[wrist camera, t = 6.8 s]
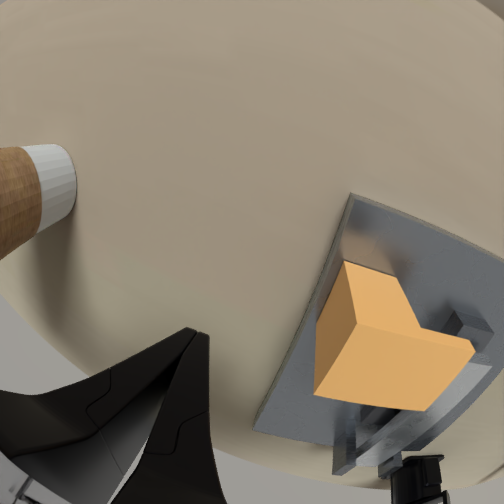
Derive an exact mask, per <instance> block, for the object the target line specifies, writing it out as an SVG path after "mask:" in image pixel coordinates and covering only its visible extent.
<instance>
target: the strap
mask: <svg viewBox="0 0 504 504" xmlns="http://www.w3.org/2000/svg"><path fill="white" fill-rule="evenodd" d="M491 368H492V364H491V362H490V360H489V358H488V356H487V355H485V354H480V353H474V355H473V356H472V357H471V359H470V360H469V361H468V362H467V364H466V365H465V366H464V368H463V369H462V370H461V371H460V373H459V374H458V375H457V376H456V377H455V379H454V380H453V381H452V382H451V383H450V384H449V386H448V387H447V388H446V389H445V390H444V391H443V392H442V393H441V395H440V396H439V397H438V398H437V399H436V400H435V401H434V402H433V403H432V404H431V405H430V406H429V407H428V408H427V409H426V410H425V411H416V410H405V409H403V410H402V411H401V412H399V413H398V414H397V415H396V416H395V417H394V418H393V419H392V420H391V421H390V422H388V423H387V424H386V425H385V426H384V427H383V428H382V429H380V430H379V431H378V432H377V433H376V434H374V435H373V436H372V437H371V438H370V439H368V440H367V441H366V442H365V443H363V444H362V445H361V446H359V447H358V448H357V449H356V466H370V467H376V466H378V465H379V464H381V463H383V462H384V461H386V460H387V459H389V458H390V457H392V456H393V455H395V454H396V453H398V452H399V451H401V450H402V449H403V448H405V447H406V446H407V445H409V444H410V443H412V442H413V441H414V440H416V439H417V438H418V437H419V436H421V435H422V434H423V433H425V432H426V431H427V430H428V429H429V428H431V427H432V426H433V425H434V424H435V423H437V422H438V421H439V420H440V419H441V418H442V417H444V416H445V415H446V414H447V413H448V412H449V411H450V410H451V409H452V408H453V407H455V406H456V405H457V404H458V403H459V402H460V401H461V400H462V399H463V398H464V397H465V396H466V395H467V394H468V393H469V392H470V391H471V390H472V389H473V388H474V387H475V385H476V384H477V383H478V382H479V381H480V380H481V379H482V378H483V377H484V376H485V374H486V373H487V372H488V371H489V370H490V369H491Z"/></svg>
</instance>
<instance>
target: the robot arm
mask: <svg viewBox="0 0 504 504" xmlns="http://www.w3.org/2000/svg"><path fill="white" fill-rule="evenodd" d="M209 342H210V336H209V335H208V334H205V333H202V332H197V331H196V330H194V329H191V328H189V327H186V328H184V329H182V330H180V331H178V332H176V333H175V334H173V335H171V336H169V337H167V338H165V339H163V340H162V341H160V342H158V343H156V344H154V345H152V346H150V347H149V348H147V349H145V350H143V351H141V352H139V353H137V354H135V355H133V356H131V357H129V358H128V359H126V360H124V361H122V362H120V363H118V364H116V365H114V366H112V367H111V368H108V369H106V370H104V371H102V372H100V373H98V374H96V375H94V376H91V377H89V378H87V379H85V380H82V381H79V382H76V383H74V384H71V385H68V386H65V387H62V388H59V389H56V390H53V391H50V392H47V393H43V394H38V395H24V394H18V393H13V392H8V391H3V390H0V504H107V502H108V501H109V499H110V498H111V496H112V495H113V493H114V492H115V490H116V488H117V487H118V485H119V484H120V482H121V480H122V479H123V477H124V475H125V474H126V472H127V471H128V469H129V467H130V466H131V464H132V463H133V461H134V459H135V458H136V456H137V455H138V453H139V451H140V450H141V448H142V447H143V445H144V443H145V442H146V440H147V438H148V437H149V438H148V441H147V443H146V446H145V448H144V451H143V454H142V456H141V459H140V461H139V463H138V465H137V467H136V469H135V470H134V471H133V473H132V474H131V476H130V477H129V479H128V480H127V481H126V483H125V484H124V486H123V487H122V488H121V490H120V491H119V492H118V494H117V495H116V497H115V498H114V499H113V501H112V502H111V504H227V502H226V500H225V497H224V495H223V492H222V488H221V485H220V481H219V477H218V472H217V468H216V464H215V459H214V454H213V449H212V443H211V436H210V418H209ZM443 459H444V455H435V456H416V457H409V458H407V459H405V460H404V461H403V462H402V465H403V466H402V467H401V468H400V469H398V470H397V471H395V472H393V473H392V474H390V475H389V476H387V477H381V479H391V504H438V503H440V502H443V504H450V497H449V494H448V492H447V490H445V491H443V492H442V493H441V486H440V484H441V483H442V479H441V473H440V466H439V462H440V461H441V460H443Z"/></svg>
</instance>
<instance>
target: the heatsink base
mask: <svg viewBox="0 0 504 504" xmlns="http://www.w3.org/2000/svg"><path fill="white" fill-rule="evenodd" d="M344 261H346V262H350V263H353V264H356V265H359V266H362V267H365V268H368V269H371V270H374V271H378V272H381V273H384V274H387V275H390V276H393V277H396V278H397V280H398V282H399V284H400V286H401V288H402V290H403V292H404V294H405V296H406V298H407V300H408V302H409V304H410V306H411V308H412V310H413V312H414V314H415V316H416V319H417V321H418V323H419V325H420V327H421V328H424V329H428V330H432V331H435V332H439V333H443V334H447V335H451V336H455V337H459V338H463V339H467V340H469V341H470V342H471V344H472V346H473V348H474V349H475V351H476V352H475V353H480V354H485V355H487V356H488V358H489V360H490V362H491V364H492V368H491V369H490V370H489V371H488V372H487V373H486V374H485V376H484V377H483V378H482V379H481V380H480V381H479V382H478V383H477V384H476V385H475V387H474V388H473V389H472V390H471V391H470V392H469V393H468V394H467V395H466V396H465V397H464V398H463V399H462V400H461V401H460V402H459V403H458V404H457V405H456V406H455V407H453V408H452V409H451V410H450V411H449V412H448V413H447V414H446V415H445V416H444V417H442V418H441V419H440V420H439V421H438V422H437V423H435V424H434V425H433V426H432V427H431V428H429V429H428V430H427V431H426V432H425V433H423V434H422V435H421V436H419V437H418V438H417V439H416V440H414V441H413V442H412V443H410V444H409V445H407V446H406V447H405V448H403V449H402V450H401V451H420V450H421V449H423V448H424V447H425V446H426V445H428V444H429V443H430V442H431V441H433V440H434V439H435V438H436V437H437V436H438V435H440V434H441V433H442V432H443V431H444V430H445V429H447V428H448V427H449V426H450V425H451V424H452V423H453V422H454V421H455V420H456V419H457V418H458V417H459V416H461V415H462V414H463V413H464V412H465V411H466V410H467V409H468V408H469V407H470V406H471V405H472V403H473V402H474V401H475V400H476V399H477V398H478V397H479V396H480V395H481V394H482V393H483V392H484V391H485V389H486V388H487V387H488V386H489V385H490V384H491V382H492V381H493V380H494V379H495V378H496V377H497V375H498V374H499V373H500V372H501V370H502V369H503V368H504V259H502V258H500V257H498V256H496V255H494V254H493V253H491V252H489V251H487V250H485V249H483V248H481V247H479V246H477V245H475V244H473V243H471V242H469V241H467V240H465V239H463V238H461V237H458V236H456V235H454V234H452V233H450V232H448V231H446V230H443V229H441V228H439V227H437V226H434V225H432V224H430V223H428V222H425V221H423V220H421V219H418V218H416V217H413V216H411V215H409V214H406V213H404V212H401V211H399V210H396V209H394V208H391V207H388V206H386V205H383V204H381V203H378V202H375V201H373V200H370V199H367V198H364V197H362V196H359V195H356V194H353V193H350V196H349V199H348V202H347V205H346V208H345V211H344V214H343V217H342V220H341V223H340V226H339V228H338V231H337V234H336V237H335V239H334V242H333V245H332V248H331V250H330V253H329V255H328V258H327V261H326V263H325V266H324V268H323V271H322V274H321V276H320V279H319V281H318V284H317V286H316V288H315V291H314V293H313V296H312V298H311V301H310V303H309V305H308V308H307V310H306V312H305V315H304V317H303V319H302V322H301V324H300V326H299V328H298V331H297V333H296V335H295V337H294V340H293V342H292V344H291V346H290V348H289V351H288V353H287V355H286V357H285V359H284V361H283V363H282V365H281V367H280V370H279V372H278V374H277V376H276V378H275V380H274V382H273V384H272V386H271V388H270V390H269V392H268V394H267V396H266V398H265V400H264V402H263V404H262V406H261V407H260V409H259V411H258V413H257V415H256V417H255V421H254V425H253V429H252V430H255V431H258V432H262V433H266V434H271V435H275V436H279V437H284V438H289V439H293V440H299V441H304V442H310V443H316V444H322V445H329V446H333V467H332V475H340V476H342V475H343V474H345V473H346V472H348V471H349V470H351V469H352V468H354V467H355V466H356V449H357V448H358V447H359V446H361V445H362V444H363V443H365V442H366V441H367V440H368V439H370V438H371V437H372V436H373V435H374V434H376V433H377V432H378V431H379V430H380V429H382V428H383V427H384V426H385V425H386V424H387V423H388V422H390V421H391V420H392V419H393V418H394V417H395V416H396V415H397V414H398V413H399V412H401V411H402V410H403V409H396V408H387V407H379V406H372V405H366V404H359V403H353V402H347V401H342V400H337V399H331V398H326V397H322V396H317V395H313V392H314V373H315V347H316V323H317V321H318V319H319V317H320V314H321V312H322V310H323V308H324V306H325V304H326V301H327V299H328V297H329V295H330V292H331V290H332V288H333V285H334V283H335V281H336V278H337V276H338V274H339V271H340V269H341V266H342V264H343V262H344ZM401 451H399V452H398V453H396V454H395V455H393V456H392V457H390V458H389V459H387V460H386V461H384V462H383V463H381V464H379V465H378V477H387V476H389V475H390V474H392V473H393V472H395V471H397V470H398V469H400V468H401V467H402V466H403V465H402V455H401Z"/></svg>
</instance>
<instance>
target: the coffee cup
mask: <svg viewBox="0 0 504 504" xmlns="http://www.w3.org/2000/svg"><path fill="white" fill-rule="evenodd" d="M76 190H77V182H76V173H75V169H74V165H73V163H72V160H71V158H70V156H69V155H68V153H67V152H66V151H65V150H64V149H63V148H62V147H61V146H59V145H56V144H47V145H35V146H25V147H8V148H0V260H1V259H3V258H4V257H5V256H7V255H8V254H9V253H11V252H12V251H13V250H15V249H16V248H18V247H19V246H20V245H22V244H23V243H25V242H26V241H28V240H29V239H31V238H32V237H33V236H34V235H36V234H37V233H39V232H40V231H42V230H44V229H45V228H47V227H49V226H50V225H52V224H54V223H56V222H57V221H59V220H61V219H62V218H64V217H66V216H67V215H68V214H69V212H70V211H71V209H72V207H73V205H74V202H75V198H76Z"/></svg>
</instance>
